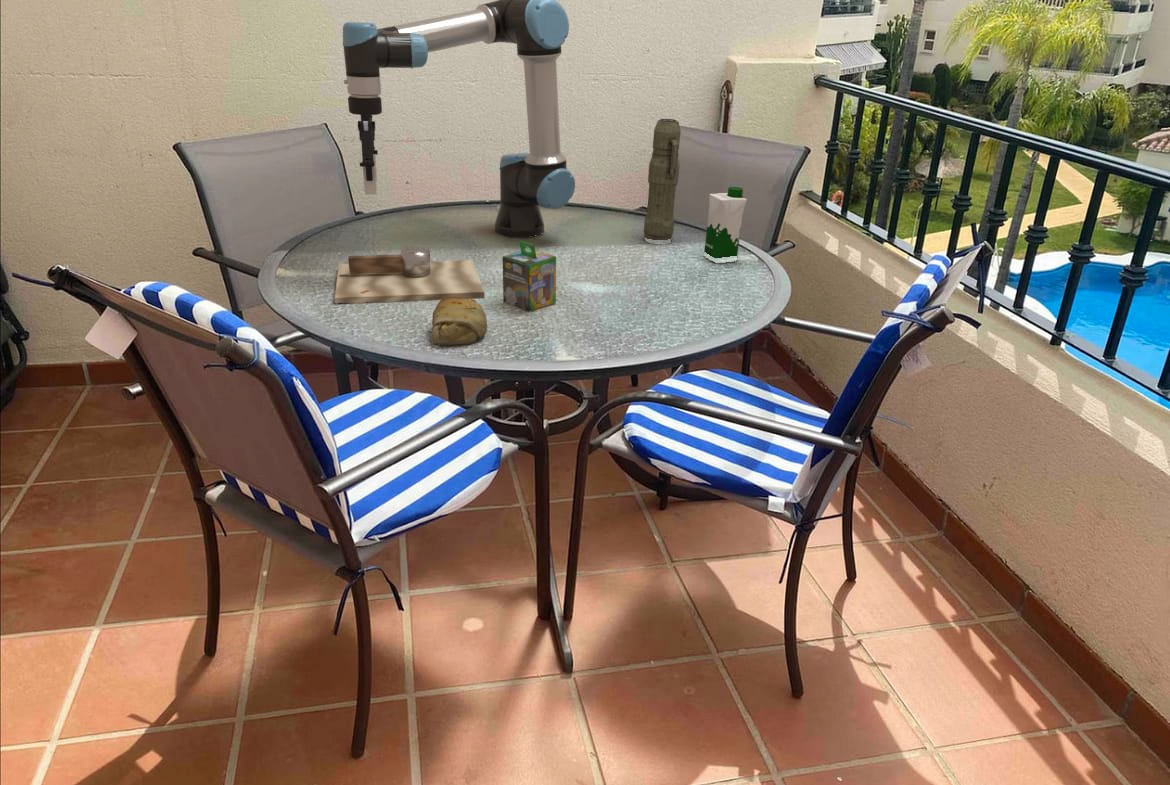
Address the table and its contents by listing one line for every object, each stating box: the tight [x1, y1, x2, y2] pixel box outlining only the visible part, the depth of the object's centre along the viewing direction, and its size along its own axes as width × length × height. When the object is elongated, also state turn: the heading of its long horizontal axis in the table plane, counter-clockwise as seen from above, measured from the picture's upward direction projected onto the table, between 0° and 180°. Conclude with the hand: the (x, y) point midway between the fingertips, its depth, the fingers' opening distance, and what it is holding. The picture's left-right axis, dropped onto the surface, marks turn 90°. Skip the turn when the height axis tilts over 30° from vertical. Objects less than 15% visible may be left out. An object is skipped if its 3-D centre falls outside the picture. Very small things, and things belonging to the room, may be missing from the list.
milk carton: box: [703, 186, 748, 258], centre depth 218 cm, size 9×9×20 cm
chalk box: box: [502, 240, 557, 313], centre depth 182 cm, size 9×9×15 cm
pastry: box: [430, 296, 488, 346], centre depth 164 cm, size 14×12×8 cm
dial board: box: [334, 259, 485, 304], centre depth 193 cm, size 34×25×2 cm
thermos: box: [643, 118, 682, 240], centre depth 230 cm, size 9×12×35 cm
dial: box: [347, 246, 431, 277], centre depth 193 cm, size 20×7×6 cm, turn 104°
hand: (371, 188), depth 191 cm, fingers open, 13 cm apart
